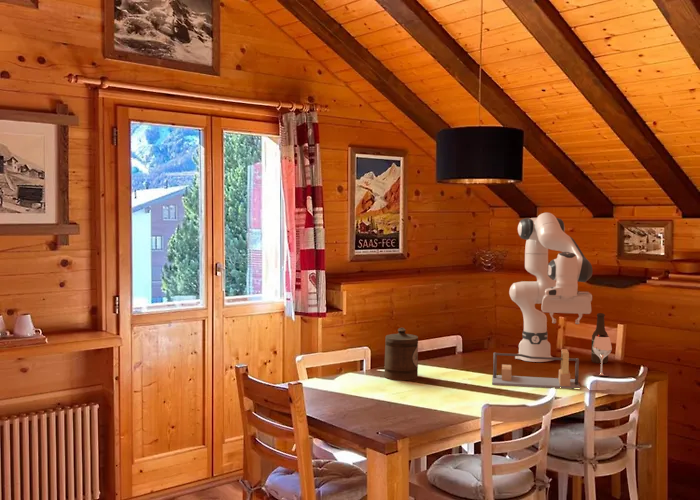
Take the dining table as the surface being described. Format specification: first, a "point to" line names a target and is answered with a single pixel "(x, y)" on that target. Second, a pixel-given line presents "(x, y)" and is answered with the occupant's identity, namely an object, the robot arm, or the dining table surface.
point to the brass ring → (564, 361)
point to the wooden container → (401, 356)
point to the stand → (534, 378)
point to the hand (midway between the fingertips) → (565, 323)
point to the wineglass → (602, 348)
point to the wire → (534, 357)
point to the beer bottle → (599, 331)
